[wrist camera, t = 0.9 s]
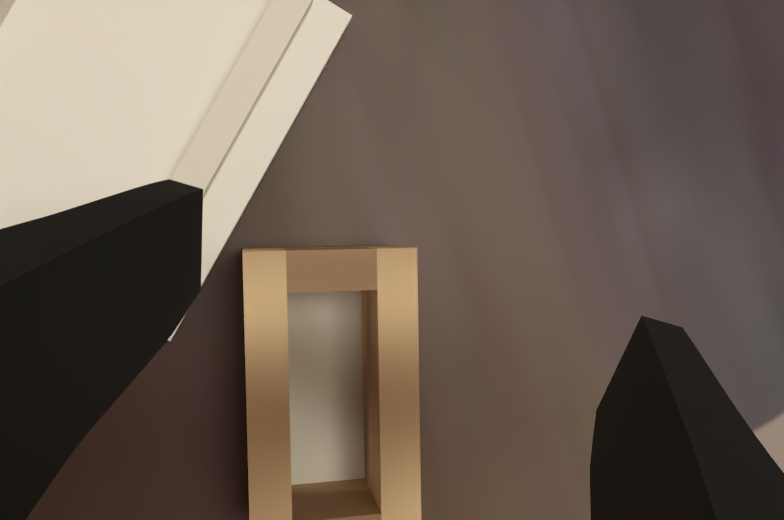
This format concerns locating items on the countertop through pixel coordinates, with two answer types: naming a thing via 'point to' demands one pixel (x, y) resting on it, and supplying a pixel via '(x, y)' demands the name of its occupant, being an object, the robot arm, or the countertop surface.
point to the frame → (332, 382)
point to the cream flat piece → (152, 99)
